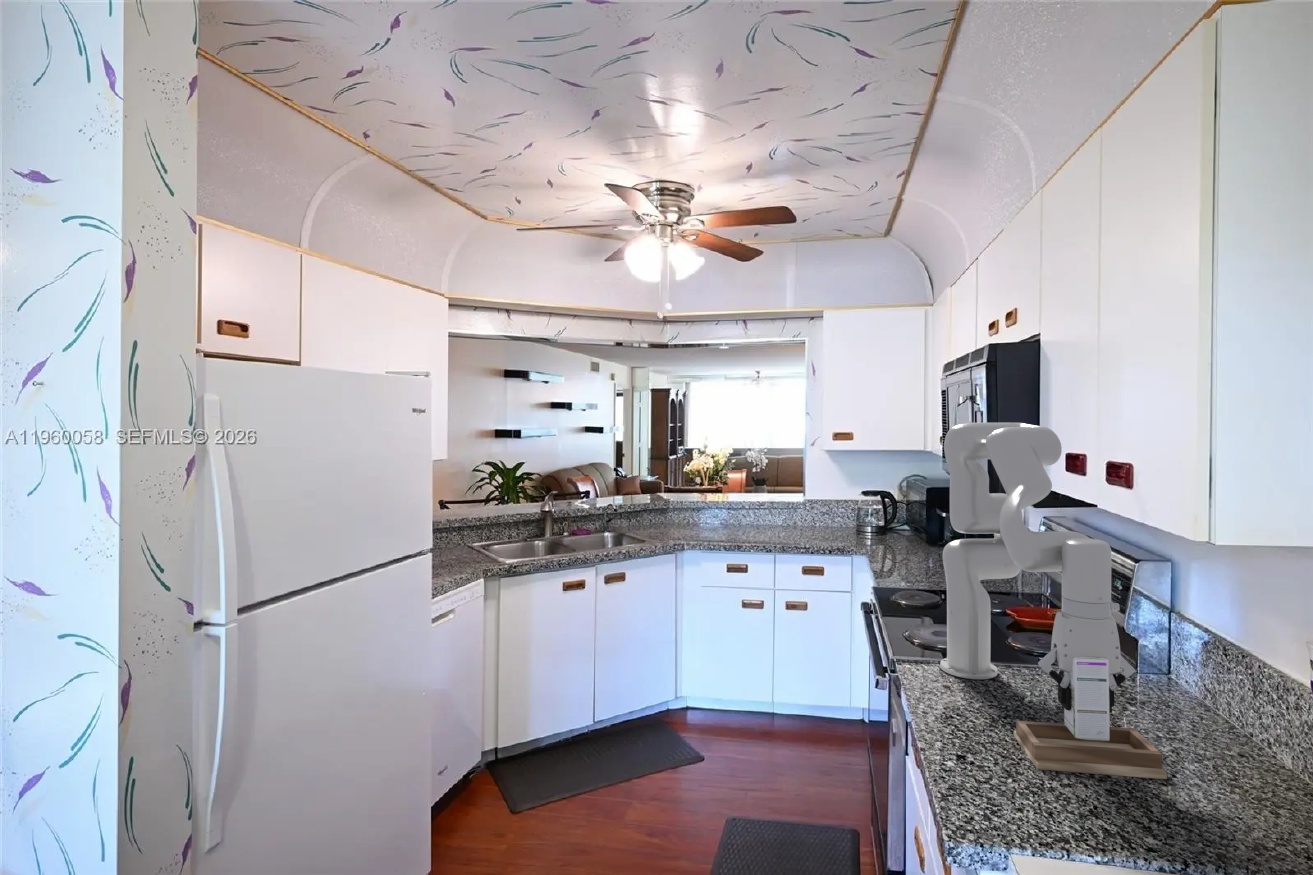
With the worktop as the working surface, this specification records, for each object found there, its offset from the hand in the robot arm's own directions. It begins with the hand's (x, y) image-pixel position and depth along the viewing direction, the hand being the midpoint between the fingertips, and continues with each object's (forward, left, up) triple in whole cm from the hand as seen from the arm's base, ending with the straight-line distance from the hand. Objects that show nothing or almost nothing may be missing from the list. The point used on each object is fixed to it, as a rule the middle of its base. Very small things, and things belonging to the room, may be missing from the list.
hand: (1085, 707), depth 124 cm
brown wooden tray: (0, 0, -9) cm, 9 cm away
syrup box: (0, 0, -5) cm, 5 cm away
